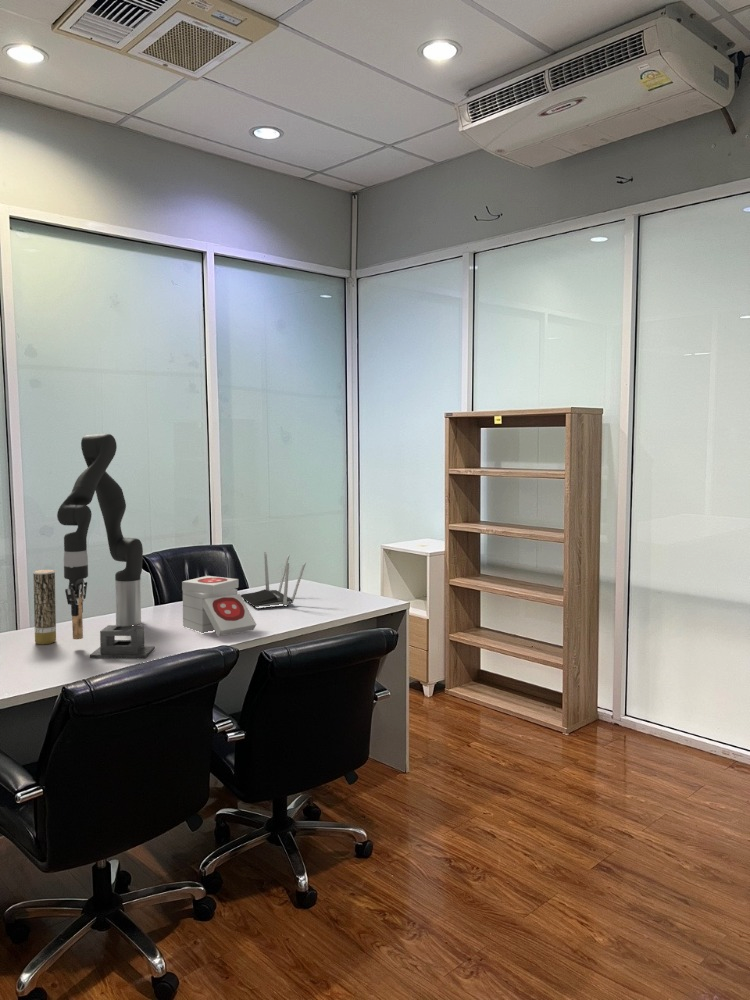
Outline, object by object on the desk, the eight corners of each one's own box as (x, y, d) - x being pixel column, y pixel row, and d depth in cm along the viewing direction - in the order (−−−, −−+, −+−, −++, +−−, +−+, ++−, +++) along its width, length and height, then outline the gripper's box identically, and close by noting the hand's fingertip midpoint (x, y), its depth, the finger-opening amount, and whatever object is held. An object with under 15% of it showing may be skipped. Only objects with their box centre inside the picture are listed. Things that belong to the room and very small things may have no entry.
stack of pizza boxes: (216, 642, 269) (216, 591, 268) (175, 626, 291) (175, 579, 290) (262, 633, 282) (262, 585, 280) (219, 619, 304) (219, 574, 303)
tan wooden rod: (71, 639, 257) (70, 598, 255) (74, 636, 260) (73, 596, 259) (81, 639, 257) (80, 598, 255) (84, 636, 260) (83, 596, 259)
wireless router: (236, 597, 346) (236, 553, 345) (285, 593, 356) (285, 551, 355) (257, 612, 316) (257, 564, 314) (310, 608, 326) (310, 561, 324)
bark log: (50, 638, 271) (48, 569, 269) (59, 642, 267) (58, 571, 265) (31, 642, 266) (29, 571, 264) (40, 646, 261) (39, 573, 260)
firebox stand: (101, 648, 259) (101, 624, 258) (154, 649, 259) (154, 624, 258) (89, 658, 248) (89, 632, 247) (145, 658, 248) (145, 632, 247)
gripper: (72, 560, 263) (74, 609, 265) (56, 567, 249) (57, 619, 251) (94, 560, 263) (95, 609, 265) (79, 567, 249) (80, 619, 251)
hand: (77, 614), depth 258 cm, fingers closed on tan wooden rod, 3 cm apart
